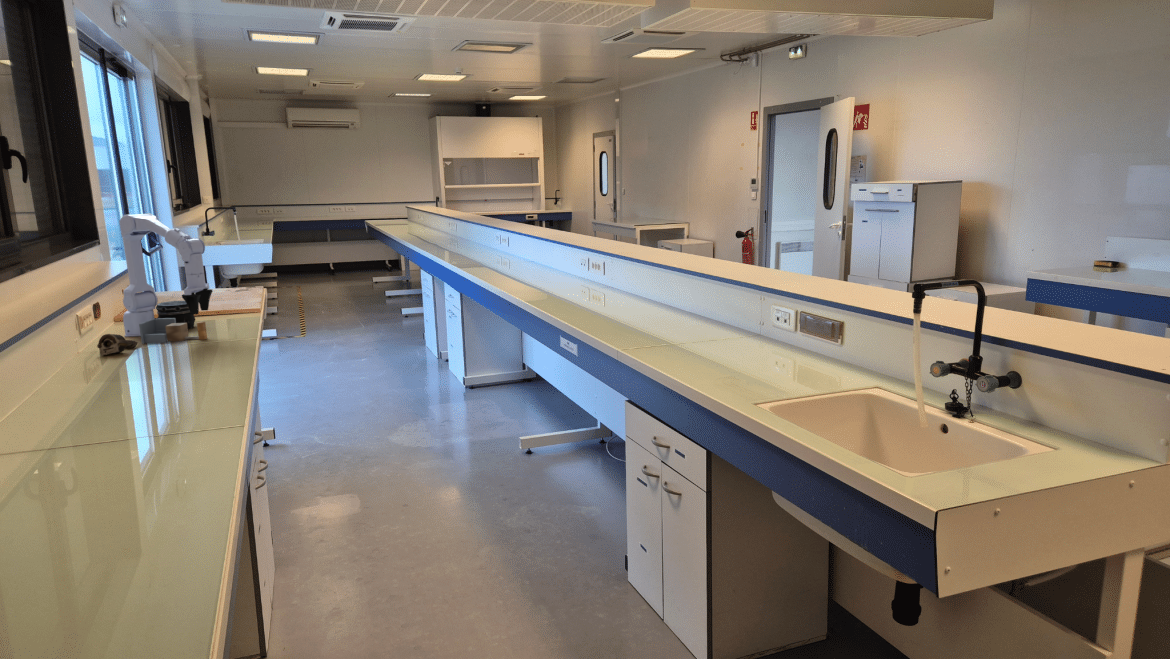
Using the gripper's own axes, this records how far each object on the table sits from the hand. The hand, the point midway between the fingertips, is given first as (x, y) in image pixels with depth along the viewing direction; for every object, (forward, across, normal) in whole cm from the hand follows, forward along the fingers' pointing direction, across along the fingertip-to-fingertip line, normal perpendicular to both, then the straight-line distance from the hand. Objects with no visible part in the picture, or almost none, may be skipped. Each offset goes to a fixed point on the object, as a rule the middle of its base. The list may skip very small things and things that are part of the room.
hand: (199, 312), depth 257 cm
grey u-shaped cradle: (+10, 0, +15) cm, 18 cm away
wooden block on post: (+10, 0, +5) cm, 11 cm away
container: (+10, +22, +19) cm, 30 cm away
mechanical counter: (+10, -17, +19) cm, 27 cm away
